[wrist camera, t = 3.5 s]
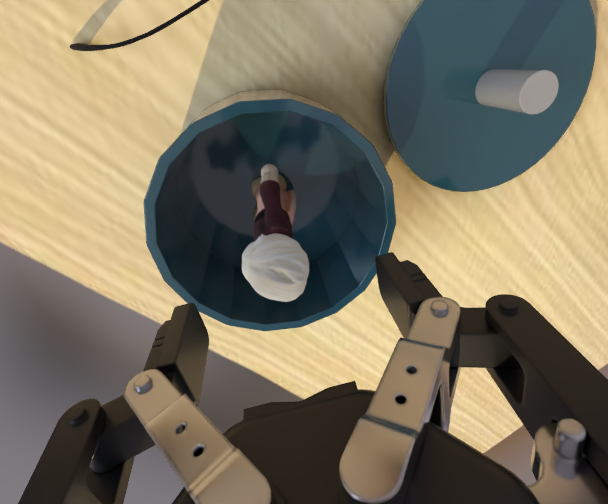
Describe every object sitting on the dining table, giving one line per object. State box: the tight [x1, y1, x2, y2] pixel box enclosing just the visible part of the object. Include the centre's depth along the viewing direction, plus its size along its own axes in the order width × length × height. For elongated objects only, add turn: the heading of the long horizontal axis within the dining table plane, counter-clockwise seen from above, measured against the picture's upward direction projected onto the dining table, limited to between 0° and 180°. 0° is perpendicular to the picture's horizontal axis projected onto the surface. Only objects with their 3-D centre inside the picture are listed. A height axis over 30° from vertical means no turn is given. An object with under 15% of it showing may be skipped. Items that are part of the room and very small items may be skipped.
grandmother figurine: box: [242, 164, 309, 302], centre depth 22 cm, size 8×4×13 cm, turn 9°
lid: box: [384, 0, 596, 192], centre depth 24 cm, size 15×15×6 cm
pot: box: [144, 90, 396, 331], centre depth 25 cm, size 15×15×7 cm
